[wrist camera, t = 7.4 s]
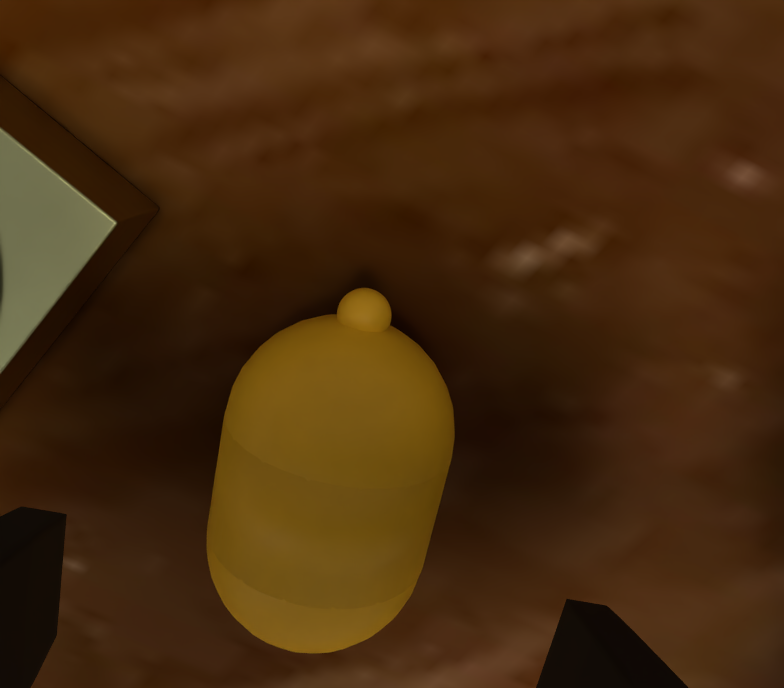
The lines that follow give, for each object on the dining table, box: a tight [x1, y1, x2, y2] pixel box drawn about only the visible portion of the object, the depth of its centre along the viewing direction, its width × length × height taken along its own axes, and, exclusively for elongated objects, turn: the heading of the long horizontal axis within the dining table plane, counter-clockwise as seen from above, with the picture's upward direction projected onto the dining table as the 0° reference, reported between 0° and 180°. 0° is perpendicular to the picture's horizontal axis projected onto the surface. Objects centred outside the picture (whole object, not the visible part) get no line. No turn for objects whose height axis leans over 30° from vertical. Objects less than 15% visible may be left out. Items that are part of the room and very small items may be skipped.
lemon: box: [207, 288, 455, 654], centre depth 13 cm, size 8×4×4 cm, turn 168°
